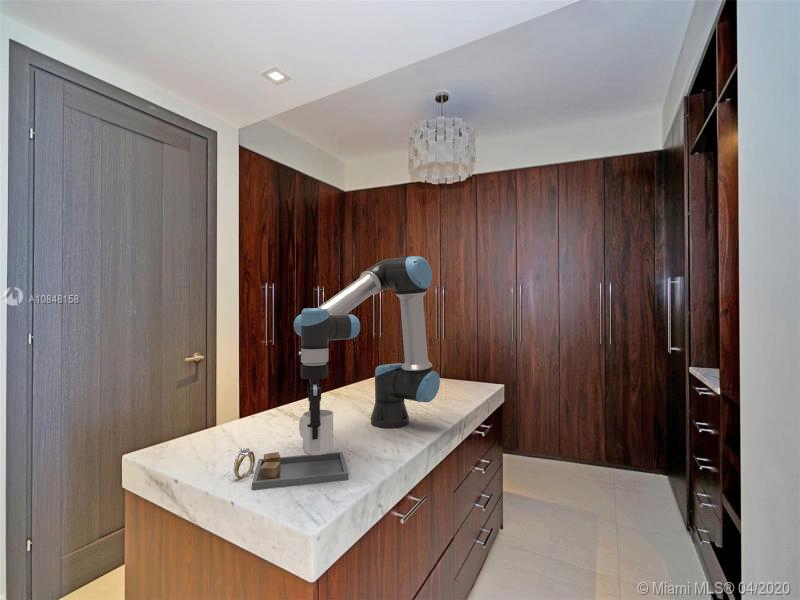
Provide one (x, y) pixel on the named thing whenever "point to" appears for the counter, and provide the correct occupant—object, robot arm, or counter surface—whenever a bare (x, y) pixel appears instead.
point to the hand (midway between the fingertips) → (314, 444)
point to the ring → (237, 463)
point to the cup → (325, 432)
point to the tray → (304, 470)
